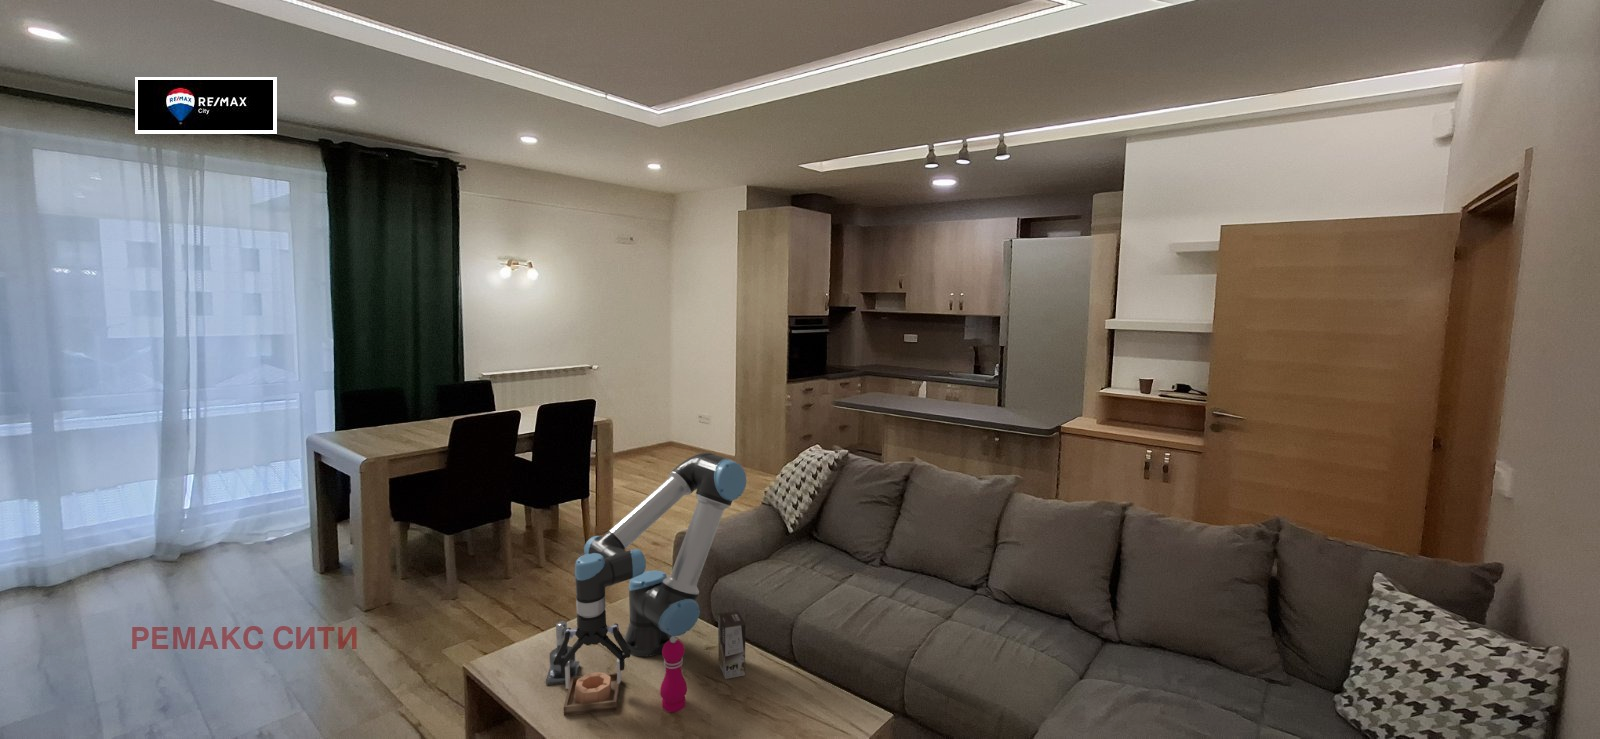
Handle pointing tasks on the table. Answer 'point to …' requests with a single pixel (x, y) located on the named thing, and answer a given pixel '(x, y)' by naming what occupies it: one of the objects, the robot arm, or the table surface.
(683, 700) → the pepper mill
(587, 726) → the table surface
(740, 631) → the coffee box
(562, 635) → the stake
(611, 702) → the tray
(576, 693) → the ring
